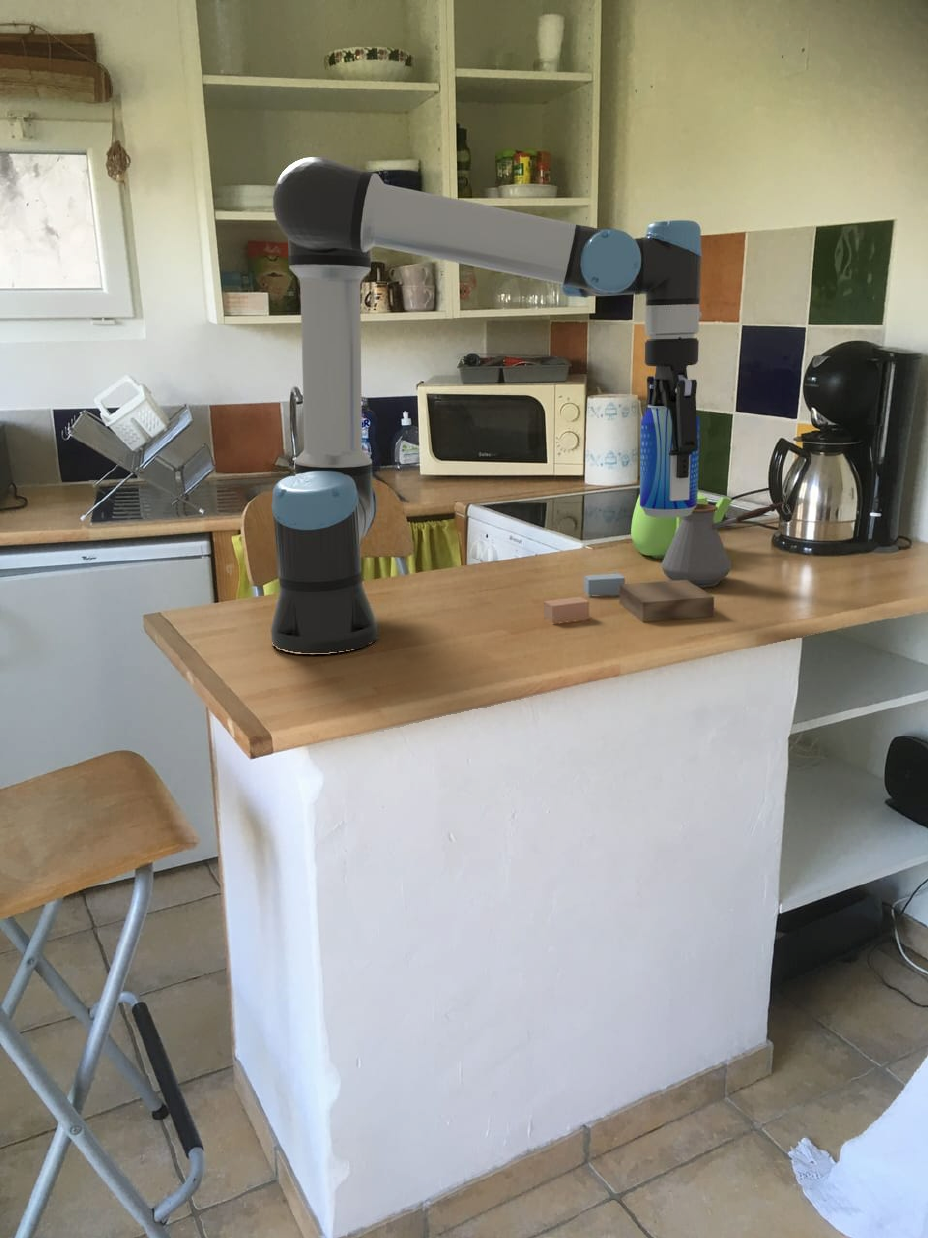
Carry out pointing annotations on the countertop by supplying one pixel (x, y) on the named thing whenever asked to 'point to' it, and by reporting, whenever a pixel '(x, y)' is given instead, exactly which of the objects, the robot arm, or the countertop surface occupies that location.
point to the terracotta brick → (566, 609)
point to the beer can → (662, 467)
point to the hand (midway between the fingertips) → (668, 494)
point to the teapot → (663, 528)
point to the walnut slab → (666, 600)
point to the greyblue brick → (603, 584)
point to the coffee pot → (703, 546)
